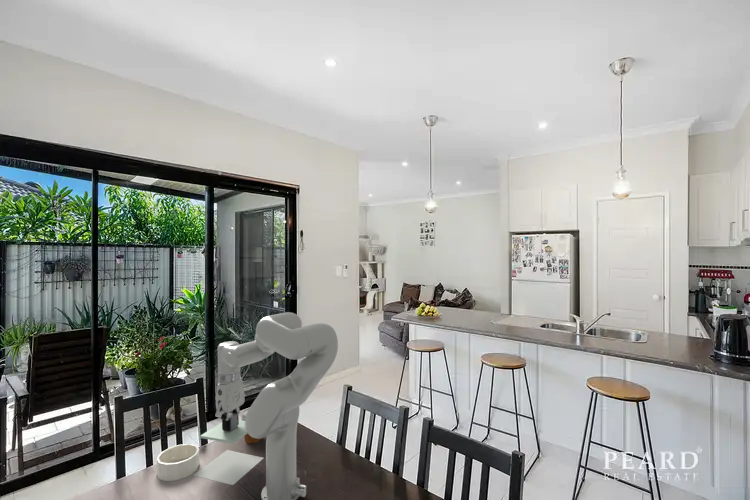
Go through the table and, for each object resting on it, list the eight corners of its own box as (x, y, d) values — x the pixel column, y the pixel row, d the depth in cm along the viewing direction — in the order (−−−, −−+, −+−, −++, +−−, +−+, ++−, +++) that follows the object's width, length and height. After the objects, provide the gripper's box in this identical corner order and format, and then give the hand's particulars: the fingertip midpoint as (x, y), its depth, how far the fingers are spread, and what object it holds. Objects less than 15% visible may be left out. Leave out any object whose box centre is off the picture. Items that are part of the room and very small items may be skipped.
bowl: (206, 463, 137) (206, 447, 137) (177, 485, 124) (177, 467, 124) (179, 457, 141) (179, 441, 141) (148, 477, 129) (148, 460, 129)
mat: (263, 458, 140) (263, 457, 140) (232, 486, 124) (232, 485, 124) (227, 450, 145) (227, 449, 145) (192, 476, 129) (192, 475, 129)
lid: (259, 425, 138) (258, 409, 138) (233, 443, 125) (232, 426, 125) (228, 420, 143) (228, 405, 143) (200, 437, 130) (199, 421, 130)
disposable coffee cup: (235, 444, 150) (235, 414, 150) (250, 433, 159) (250, 405, 159) (255, 448, 147) (255, 418, 147) (269, 436, 156) (269, 408, 156)
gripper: (221, 385, 125) (222, 440, 125) (252, 370, 141) (253, 419, 141) (203, 383, 128) (204, 437, 127) (236, 369, 143) (237, 416, 143)
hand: (230, 427), depth 134 cm, fingers closed on lid, 3 cm apart
